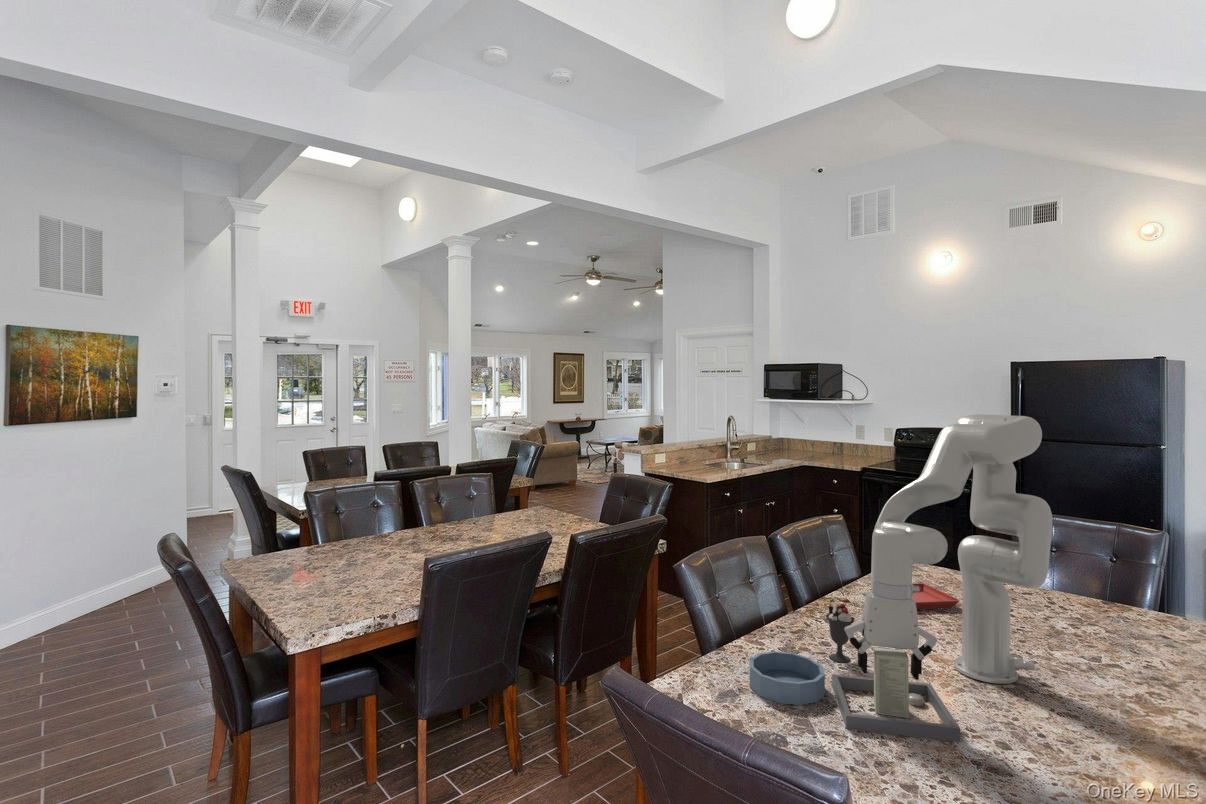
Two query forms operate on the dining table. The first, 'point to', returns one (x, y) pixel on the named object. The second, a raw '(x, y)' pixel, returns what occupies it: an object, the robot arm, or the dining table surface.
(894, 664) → the skincare box
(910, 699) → the pebble
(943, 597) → the plant saucer
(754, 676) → the bowl
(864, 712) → the pebble
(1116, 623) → the dining table surface
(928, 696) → the gray rectangular frame
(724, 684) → the dining table surface
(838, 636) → the sundae
